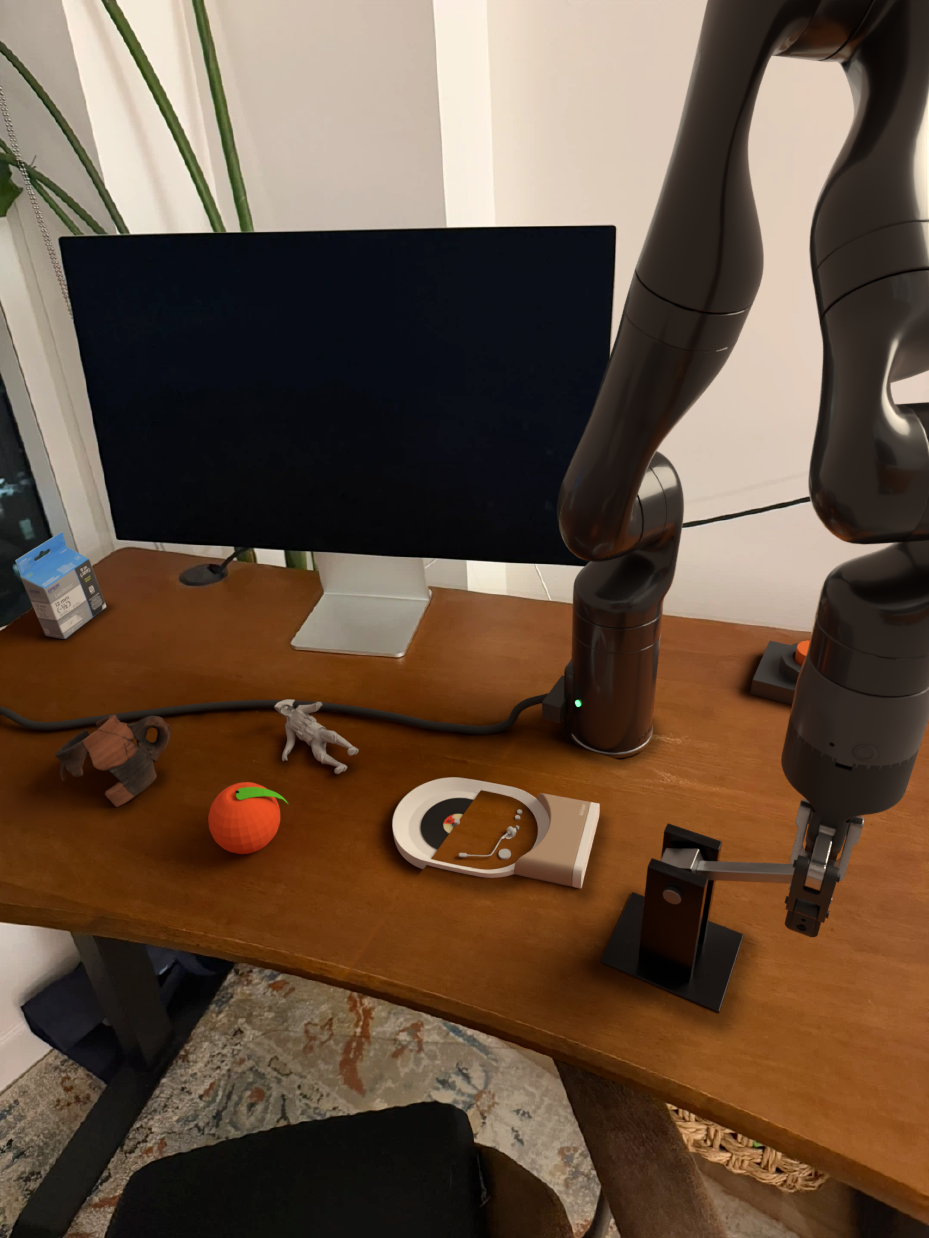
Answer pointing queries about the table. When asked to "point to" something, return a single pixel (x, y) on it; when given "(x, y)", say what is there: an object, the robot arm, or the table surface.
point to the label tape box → (60, 587)
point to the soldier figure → (311, 733)
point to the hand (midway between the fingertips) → (808, 899)
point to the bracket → (676, 929)
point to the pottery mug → (118, 754)
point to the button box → (777, 673)
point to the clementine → (244, 817)
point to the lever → (728, 867)
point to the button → (801, 652)
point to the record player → (551, 858)
